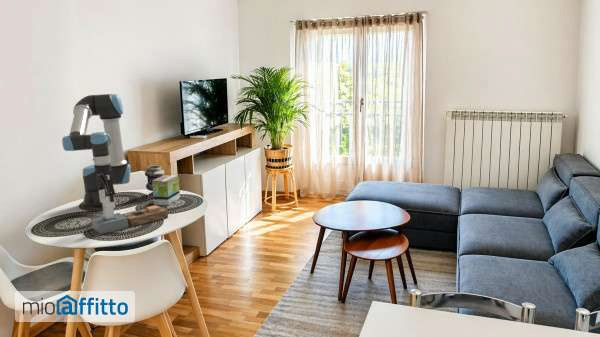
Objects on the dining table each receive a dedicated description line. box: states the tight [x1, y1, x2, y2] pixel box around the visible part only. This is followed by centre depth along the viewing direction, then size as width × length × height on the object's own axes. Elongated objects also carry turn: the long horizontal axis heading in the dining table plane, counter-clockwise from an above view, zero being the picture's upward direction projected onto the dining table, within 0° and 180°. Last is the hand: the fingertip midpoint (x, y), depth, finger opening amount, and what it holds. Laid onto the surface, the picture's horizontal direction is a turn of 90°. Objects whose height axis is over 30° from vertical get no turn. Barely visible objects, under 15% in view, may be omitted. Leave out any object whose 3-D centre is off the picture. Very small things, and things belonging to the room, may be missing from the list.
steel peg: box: [101, 196, 115, 221], centre depth 243 cm, size 4×4×16 cm
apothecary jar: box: [144, 164, 165, 197], centre depth 302 cm, size 12×12×18 cm
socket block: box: [122, 205, 169, 227], centre depth 256 cm, size 12×20×4 cm, turn 130°
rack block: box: [91, 212, 129, 235], centre depth 244 cm, size 12×14×5 cm
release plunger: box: [145, 204, 159, 213], centre depth 258 cm, size 5×5×5 cm
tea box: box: [152, 174, 181, 206], centre depth 286 cm, size 15×10×15 cm, turn 168°
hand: (107, 204), depth 242 cm, fingers open, 13 cm apart
